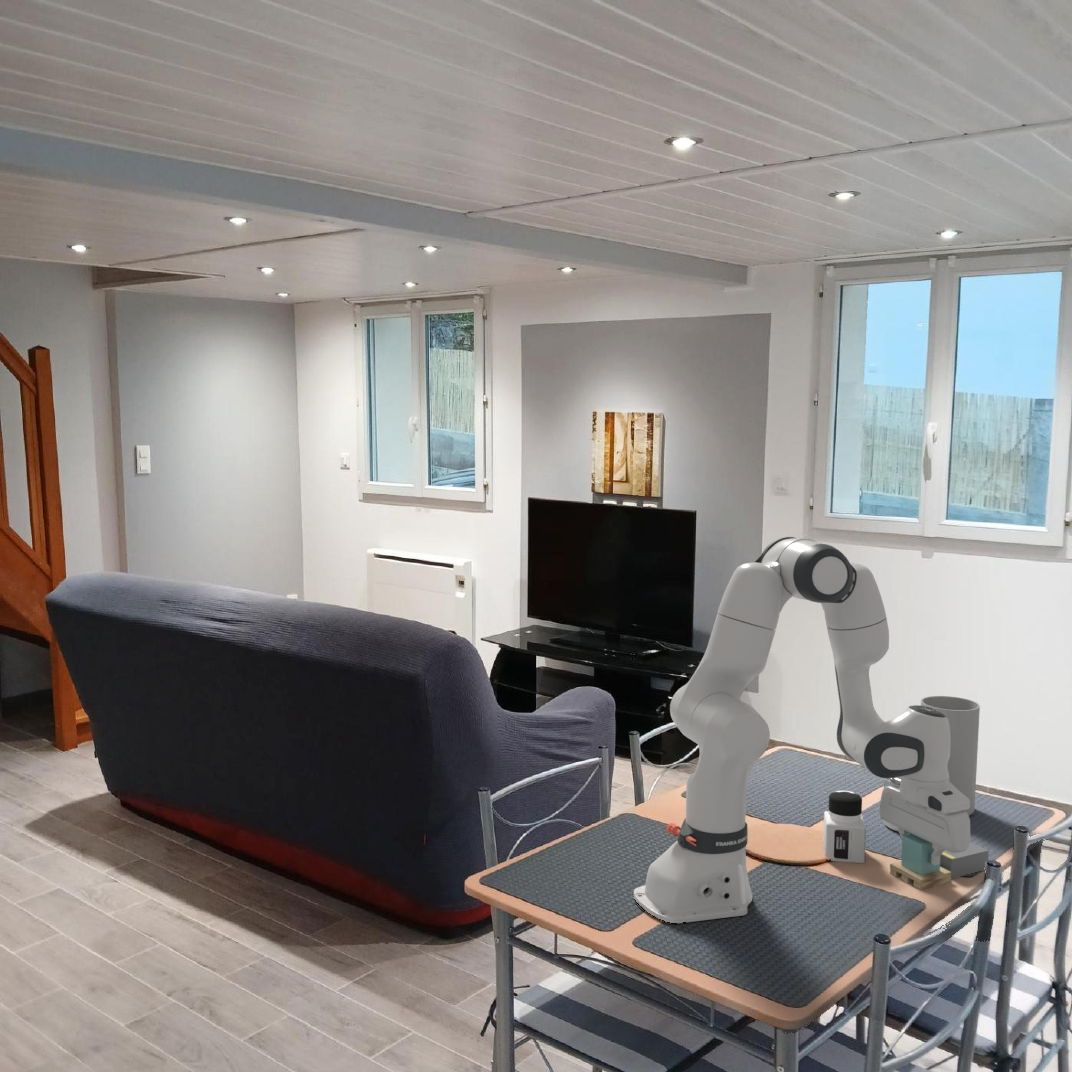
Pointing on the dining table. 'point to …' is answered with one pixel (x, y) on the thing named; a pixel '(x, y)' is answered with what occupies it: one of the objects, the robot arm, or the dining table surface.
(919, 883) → the pallet
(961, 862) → the block
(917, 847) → the teal block
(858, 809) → the container
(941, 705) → the cylinder vase
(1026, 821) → the dining table surface
